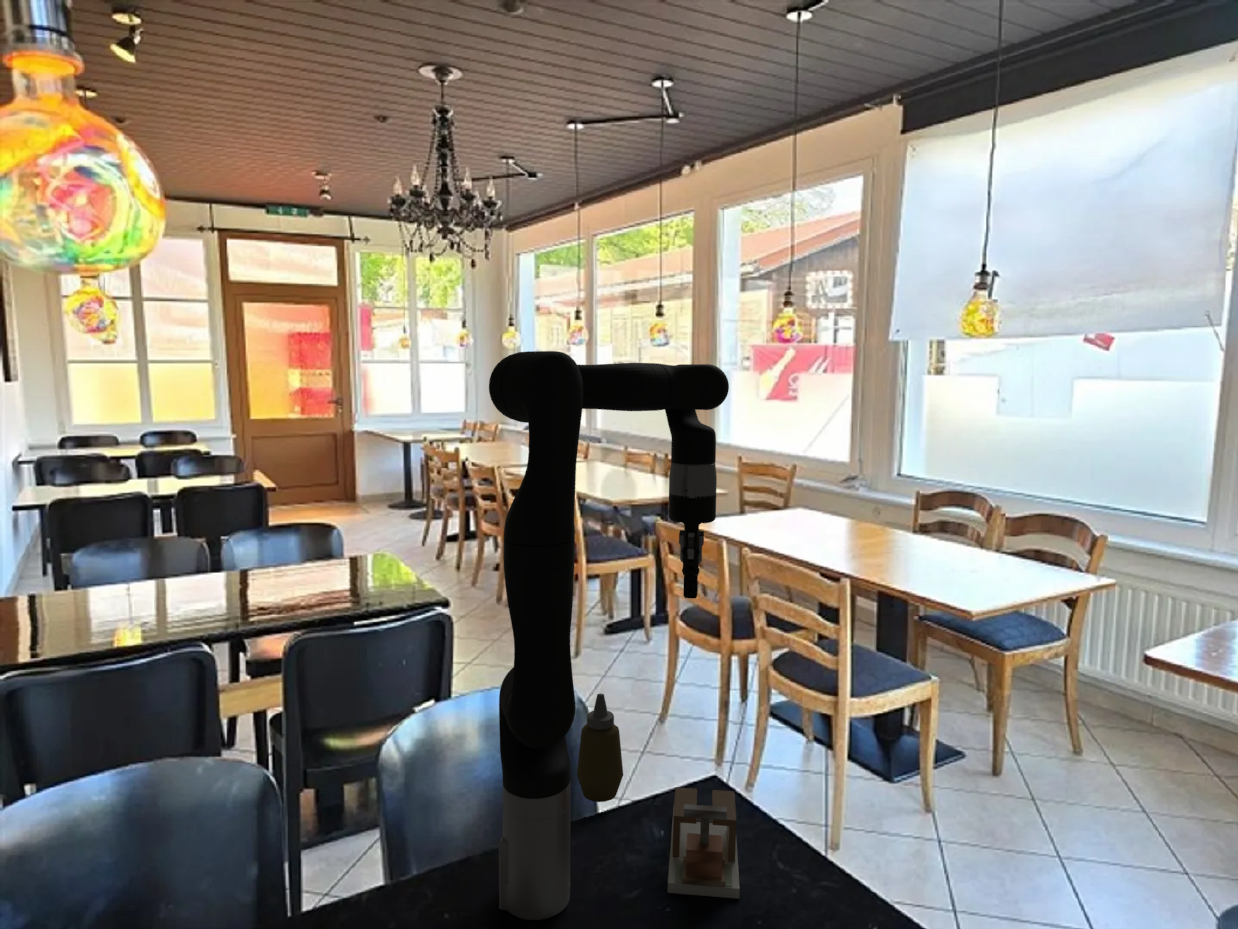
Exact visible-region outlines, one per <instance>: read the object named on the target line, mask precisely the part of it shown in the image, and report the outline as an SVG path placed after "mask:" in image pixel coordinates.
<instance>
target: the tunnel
mask: <svg viewBox="0 0 1238 929" xmlns="http://www.w3.org/2000/svg"><path fill="white" fill-rule="evenodd" d="M711 795H712V797H711V798H712V805H711V806H717V807H727V820H721V819H709V835H721V836H722V859H723V860H725V887H718V886H706V885H693V884H682V871H683V856H684V857H686V848H687V833H694V834H700V827H701V818H693V817H684V804H689V805H698V789H697V788H691V787H689V788H687V787H675V788H674V800H673V810H672V824H671V838H670V849H669V850H670V851H669V863H668V873H667V874H668V876H667V893H668V894H677V895H690V896H704V897H705V896H706V897H715V898H725V899H726V898H727V899H738V900H739V899H740V888H741V887H740V876H739V875H740V874H739V861H738V859H739V858H738V857H739V856H738V844H737V842H738V841H737V840H738V839H737V808H736V797H735V795H736V794H735V791H733V790H722V789H721V790H720V789H718V790H717V789H712V794H711Z"/></svg>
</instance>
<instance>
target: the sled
mask: <svg viewBox="0 0 1238 929" xmlns="http://www.w3.org/2000/svg"><path fill="white" fill-rule="evenodd" d="M684 817H693V818H701V827H700V834H694V833H687V848H686V857H684V856H683V871H682V884H693V885H706V886H718V887H725V860H723V859H722V836H721V835H709V819H721V820H727V807H717V806H713V805H702V804H701V805H700V804H697V805H689V804H684Z"/></svg>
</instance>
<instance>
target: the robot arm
mask: <svg viewBox="0 0 1238 929" xmlns="http://www.w3.org/2000/svg"><path fill="white" fill-rule="evenodd" d="M729 391H730V382H729V379H728V377H727V375H726V373H725V372H724V371H723V370H722V369H721V368H720V367H718V366H716V365H714V364H707V363H705V364H703V363H702V364H700V363H698V364H695V363H693V364H692V363H691V364H690V363H688V364H686V363H685V364H684V363H683V364H675V365H672V364H664V363H656V362H655V363H654V362H653V363H652V362H620V363H619V362H617V363H603V364H599V363H598V364H597V363H596V364H577V363H576V361H575V359H573V357H571V356H570V355H568V354H567V353H565V352H562V351H557V350H555V351H554V350H544V351H543V350H541V351H539V350H535V351H530V350H529V351H519V352H518V351H517V352H515V353H512V354H509V355H507V356H506V357H503V358H502V359H501V360H500V361H499V362H497V364H496V365H495V366H494V368H493V370H492V372H491V374H490V377H489V382H488V392H489V395H490V396H489V397H490V400H491V401H492V404H493V406H494V407H495V409H497V411H498V412H499V413H500V414H502V415H503V416H504V417H506V418H508V419H510V420H513V421H515V422H520V423H525V424H527V423H528V457H527V464H526V469H525V472H524V474H523V478H522V480H521V483H520V486H519V487H518V489H517V491H516V493H515V496H514V498H513V500H512V502H511V504H510V506H509V510H508V512H507V515H506V518H505V521H504V522H505V523H504V527H503V528H504V529H503V574H504V576H503V577H504V584H505V591H506V592H505V594H506V602H507V607H508V613H509V617H510V623H511V628H512V634H513V635H512V636H513V645H514V646H513V647H514V650H513V651H514V654H513V656H514V659H513V667H512V668H511V669H509V671H508V672H507V673H506V675H505V676H504V678H503V680H502V682H501V685H500V688H499V696H498V697H499V698H498V710H499V711H498V719H499V720H498V721H499V723H498V724H499V726H498V727H499V751H500V752H499V756H500V762H501V770H502V836H501V837H500V838H501V839H500V840H499V843H498V883H499V884H498V889H499V890H498V894H499V896H498V900H499V902H498V903H499V904H498V905H499V907H498V908H499V910H501V911H507V912H508V913H509V914H511V915H513V916H514V917H516V918H519V919H523V920H525V921H526V920H527V921H542V920H547V919H549V918H553V917H554V916H556V915H557V916H558V914H560V913H561V912H563V911H564V910H565V908H567V906H568V905H569V902H570V900H571V760H570V754H569V750H568V744H567V734H568V733H569V731H570V729H572V728H571V727H572V725H573V722H574V720H575V715H576V698H575V697H576V696H575V695H576V694H575V687H574V678H573V666H572V664H573V663H572V655H571V654H572V653H571V652H572V651H571V629H572V627H571V626H572V616H573V602H574V601H573V600H574V581H575V579H574V578H575V577H574V574H575V554H576V553H575V551H576V550H575V547H576V546H575V544H576V543H575V542H576V537H575V536H576V533H575V532H576V531H575V530H576V529H575V505H576V503H575V502H576V479H577V478H576V477H577V474H576V473H577V460H578V450H579V439H580V430H581V425H582V424H581V423H582V413H583V410H604V411H605V410H606V411H616V412H619V411H620V412H651V411H653V412H655V411H665V416H666V420H667V424H668V429H669V432H670V436H671V445H670V446H671V448H670V454H671V455H670V469H669V475H668V477H669V478H668V519H669V520H670V521H672V522H674V523H682V524H683V525H684V529H679V533H678V544H679V545H680V547H679V548H680V551H679V552H680V554H679V555H680V556H679V559H680V562H681V563H682V568H681V572H682V575H683V592H682V593H683V598H685V599H696V598H698V583H699V581H698V578H699V577H698V576H699V575H700V567H699V565H700V563H701V562H702V561H703V545H704V544H705V530H700V529H699V528H700V525H702V524H709V523H712V522H714V521H715V520H716V518H717V485H718V484H717V480H718V479H717V478H718V477H717V469H716V468H717V467H716V458H717V457H716V456H717V455H716V454H717V446H716V445H717V435H716V434H717V433H716V431H715V429H714V428H712V427H711V426H709V425H707V424H704V423H702V422H701V421H700V420H699V418H698V415H697V411H699V410H700V411H710V410H714V409H716V408H718V407H719V406H721V405H722V404H723V403H724V402H725V400H726V399H727V397H728V395H729Z"/></svg>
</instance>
